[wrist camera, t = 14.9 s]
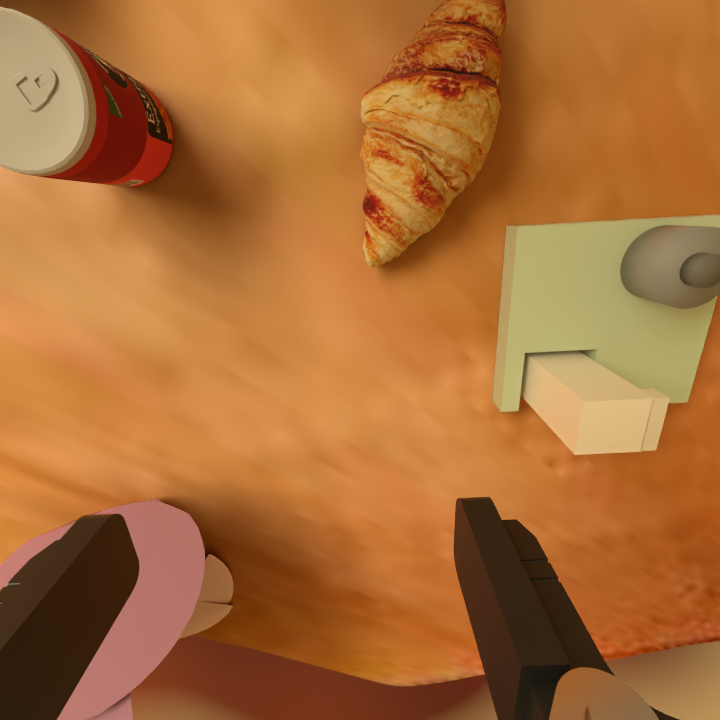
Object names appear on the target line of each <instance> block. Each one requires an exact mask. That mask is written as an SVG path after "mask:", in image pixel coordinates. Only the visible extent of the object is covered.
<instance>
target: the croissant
mask: <svg viewBox="0 0 720 720" xmlns="http://www.w3.org/2000/svg"><path fill="white" fill-rule="evenodd" d="M506 19H507V17H506V9H505V1H504V0H447V1H446V2H445V3H444V4H442V5H440V6H439V7H438V8H437V9H436V10H435V11H434V12H433V13H432V14H431V15H430V16H429V18H427V19H426V20H425V21H424V27H423V28H422V30H420V31H419V32H417V33H416V35H415V36H414V38H413V39H412V41H411V44H410V46H408V47H407V48H405V49H401V50H400V51H399V53H398V54H397V55H396V56H395V57H394V59H393V60H392V61H391V63H390V64H389V66H388V68H387V70H386V72H385V74H384V76H383V79H382V82H381V83H380V84H378V85H376V86H375V87H373V88H372V89H370V90H369V91H368V92H366V93H365V94H364V96H363V98H362V99H361V113H360V115H361V119H362V122H363V126H364V128H365V130H366V131H365V134H364V136H363V143H362V147H361V152H360V157H361V158H362V159H363V163H364V165H365V174H366V189H365V196H364V201H363V211H364V217H365V228H366V230H367V231H366V233H365V237H364V245H363V249H364V251H365V259H366V262H367V263H368V265H369V266H371V267H378V266H381V265H383V264H384V263H386V261H391V260H393V258H398V257H399V256H400V255H401V253H402V252H403V251H405V250H406V249H407V248H408V246H409V245H410V244H411V243H413V242H415V241H416V239H417V238H418V237H419V236H421V235H423V233H427V232H429V231H430V230H432V229H433V228H434V227H435V226H436V225H437V224H438V223H439V221H440V220H441V219H442V217H443V215H444V214H445V210H446V208H447V207H448V206H449V205H450V204H451V202H452V200H453V199H454V198H455V197H456V196H457V195H458V194H459V193H460V192H462V191H463V190H464V188H465V187H467V186H468V185H470V184H471V183H472V181H473V180H474V179H475V177H476V175H477V173H478V172H479V171H481V168H482V166H483V164H484V162H485V160H486V157H487V155H488V153H489V150H490V147H491V144H492V141H493V138H494V135H495V132H496V129H497V124H498V118H499V112H500V107H501V100H500V92H499V90H498V89H499V80H500V76H501V67H502V61H503V58H502V56H501V51H500V50H499V49H498V42H499V40H500V37H501V35H502V32H503V30H504V29H505V26H506Z"/></svg>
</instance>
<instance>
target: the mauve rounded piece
mask: <svg viewBox="0 0 720 720" xmlns="http://www.w3.org/2000/svg"><path fill="white" fill-rule="evenodd" d="M98 514H121V515H122V516H123V517H124V519H125V521H126V524H127V527H128V530H129V533H130V536H131V539H132V542H133V544H134V547H135V550H136V553H137V556H138V559H139V576H138V580H137V583H136V586H135V588H134V590H133V592H132V593H131V595H130V597H129V598H128V600H127V602H126V603H125V605H124V607H123V609H122V610H121V612H120V614H119V615H118V617H117V619H116V620H115V622H114V624H113V626H112V627H111V629H110V631H109V632H108V634H107V636H106V637H105V639H104V641H103V642H102V644H101V646H100V648H99V649H98V651H97V653H96V654H95V656H94V658H93V659H92V661H91V663H90V664H89V666H88V668H87V670H86V671H85V673H84V675H83V676H82V678H81V680H80V681H79V683H78V685H77V686H76V688H75V690H74V692H73V693H72V695H71V697H70V698H69V700H68V702H67V703H66V705H65V707H64V708H63V710H62V712H61V714H60V715H59V717H58V719H57V720H133V714H132V705H131V696H130V691H132V690H133V689H134V688H135V687H136V686H138V684H140V683H141V682H142V681H143V680H144V679H145V678H146V677H147V676H148V675H149V674H150V673H151V672H152V671H153V670H154V669H155V668H156V667H157V666H158V665H159V664H160V663H161V661H162V660H163V659H164V658H165V657H166V656H167V654H168V653H169V652H170V650H171V649H172V648H173V646H174V645H175V644H176V642H177V640H178V639H180V638H184V637H187V636H190V635H194V634H196V633H199V632H201V631H204V630H206V629H208V628H210V627H212V626H213V625H215V624H216V623H218V622H219V621H220V620H222V619H223V618H224V617H225V616H226V615H227V614H228V613H229V611H230V610H231V608H232V607H233V606H232V605H228V603H229V602H230V600H231V598H232V595H233V588H234V585H233V579H232V576H231V573H230V571H229V569H228V568H227V567H226V565H225V564H224V563H223V562H222V561H220V560H219V559H218V558H216V557H215V556H213V555H211V554H208V556H207V558H206V560H205V550H204V545H203V541H202V538H201V534H200V531H199V528H198V526H197V525H196V523H195V522H194V520H193V519H192V517H191V516H190V515H189V514H188V513H186V512H184V511H182V510H180V509H178V508H175V507H173V506H170V505H168V504H165V503H162V502H161V501H160V500H159V499H151V500H149V501H144V502H137V503H131V504H126V505H121V506H117V507H113V508H110V509H107V510H104V511H100V512H97V513H94V514H91V515H98ZM76 521H77V520H76ZM76 521H73V522H71V523H68V524H66V525H64V526H62V527H59V528H57V529H55V530H52V531H49V532H47V533H44V534H42V535H39V536H37V537H35V538H33V539H31V540H29V541H27V542H26V543H24V544H23V545H22V546H20V547H19V548H18V549H16V550H15V551H14V552H13V553H12V554H11V555H10V556H9V557H8V558H7V559H6V560H5V561H4V562H3V563H2V564H1V565H0V590H1V589H2V588H3V587H7V585H8V582H9V581H10V580H11V578H12V577H13V576H14V575H15V574H16V573H17V572H18V571H19V570H20V569H21V568H22V567H23V566H24V565H25V564H26V563H27V562H28V560H29V559H31V558H32V557H34V556H35V555H36V554H38V553H39V552H40V551H42V550H43V549H45V548H46V547H47V546H49V545H50V544H51V543H53V542H54V541H56V540H60V539H61V537H62V536H63V535H64V534H65V533H66V532H67V531H68V530H69V529H70V528H71V526H72V525H73V524H74V523H75V522H76Z"/></svg>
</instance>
